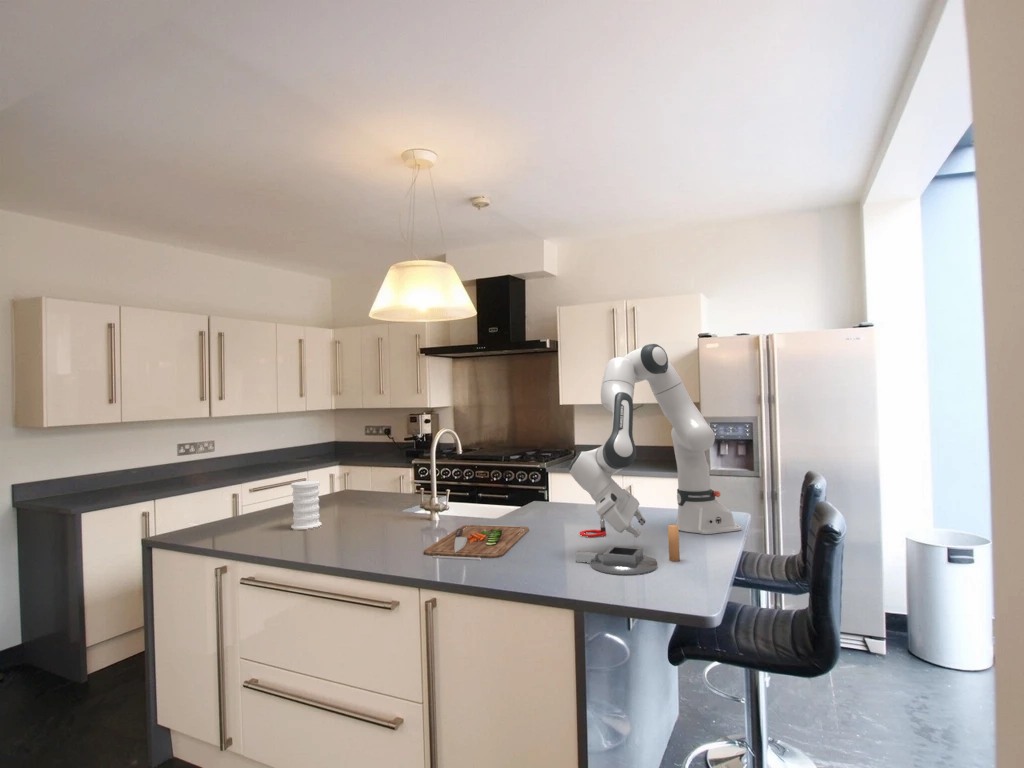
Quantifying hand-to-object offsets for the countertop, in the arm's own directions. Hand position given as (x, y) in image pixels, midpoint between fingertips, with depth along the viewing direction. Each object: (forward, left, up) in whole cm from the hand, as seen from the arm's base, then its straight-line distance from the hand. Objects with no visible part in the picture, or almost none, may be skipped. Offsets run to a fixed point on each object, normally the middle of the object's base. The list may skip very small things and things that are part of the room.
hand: (641, 529), depth 179 cm
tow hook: (+9, -28, -8) cm, 30 cm away
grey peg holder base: (+11, +9, -8) cm, 16 cm away
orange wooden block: (-7, +8, -8) cm, 13 cm away
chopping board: (+49, -28, -8) cm, 57 cm away
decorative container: (+117, -66, -8) cm, 134 cm away
